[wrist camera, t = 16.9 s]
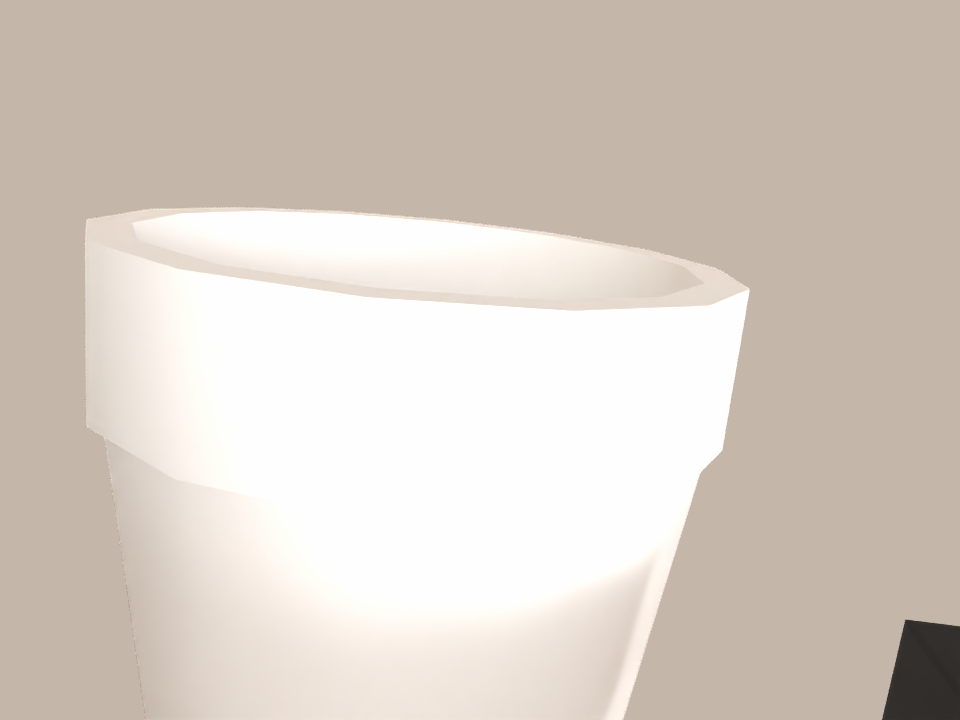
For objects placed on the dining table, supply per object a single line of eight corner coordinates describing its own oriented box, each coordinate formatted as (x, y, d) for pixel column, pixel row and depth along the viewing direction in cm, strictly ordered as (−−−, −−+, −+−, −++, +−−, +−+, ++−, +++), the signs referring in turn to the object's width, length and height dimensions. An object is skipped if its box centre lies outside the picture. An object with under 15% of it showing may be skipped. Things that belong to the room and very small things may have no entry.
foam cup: (731, 1126, 14) (903, 318, 11) (89, 1395, 10) (80, 300, 7) (492, 743, 23) (553, 224, 20) (91, 818, 19) (87, 195, 16)
